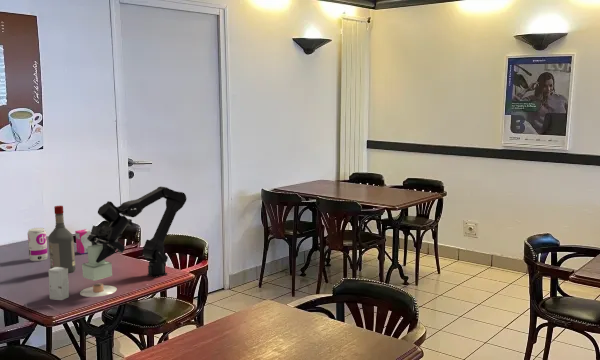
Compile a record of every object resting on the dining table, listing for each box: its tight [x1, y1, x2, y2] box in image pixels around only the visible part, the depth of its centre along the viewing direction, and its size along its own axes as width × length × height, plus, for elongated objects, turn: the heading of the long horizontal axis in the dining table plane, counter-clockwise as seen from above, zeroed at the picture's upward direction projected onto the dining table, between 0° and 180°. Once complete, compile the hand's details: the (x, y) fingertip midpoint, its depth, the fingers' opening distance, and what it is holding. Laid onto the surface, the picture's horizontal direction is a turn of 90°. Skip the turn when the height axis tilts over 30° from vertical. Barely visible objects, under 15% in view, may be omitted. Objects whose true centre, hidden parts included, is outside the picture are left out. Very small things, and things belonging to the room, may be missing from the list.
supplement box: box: [74, 228, 92, 256], centre depth 297 cm, size 6×6×12 cm
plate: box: [79, 285, 118, 298], centre depth 235 cm, size 14×14×1 cm
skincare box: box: [48, 267, 70, 301], centre depth 227 cm, size 6×4×12 cm
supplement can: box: [27, 227, 49, 262], centre depth 285 cm, size 8×8×15 cm
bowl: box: [92, 282, 104, 293], centre depth 235 cm, size 4×4×3 cm
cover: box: [81, 244, 113, 282], centre depth 234 cm, size 8×8×12 cm
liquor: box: [48, 205, 76, 274], centre depth 263 cm, size 9×9×30 cm
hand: (93, 261), depth 233 cm, fingers closed on cover, 4 cm apart
